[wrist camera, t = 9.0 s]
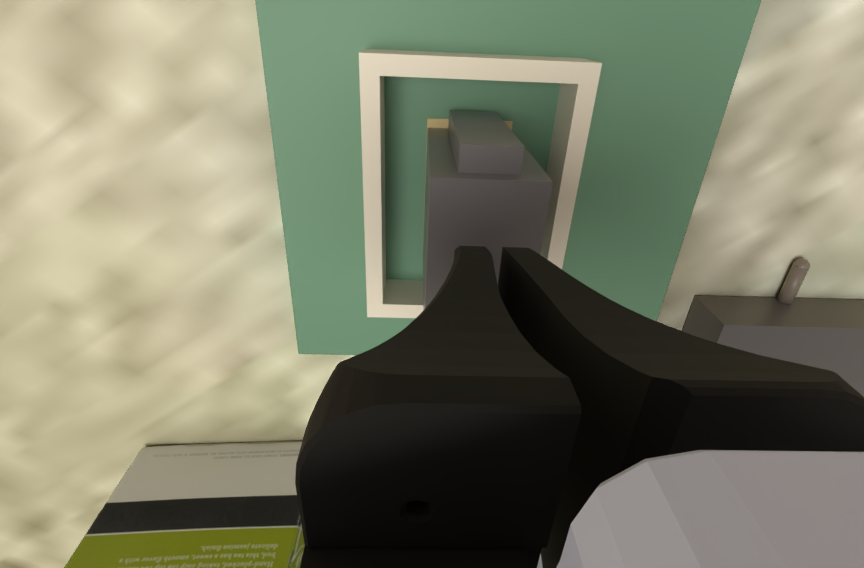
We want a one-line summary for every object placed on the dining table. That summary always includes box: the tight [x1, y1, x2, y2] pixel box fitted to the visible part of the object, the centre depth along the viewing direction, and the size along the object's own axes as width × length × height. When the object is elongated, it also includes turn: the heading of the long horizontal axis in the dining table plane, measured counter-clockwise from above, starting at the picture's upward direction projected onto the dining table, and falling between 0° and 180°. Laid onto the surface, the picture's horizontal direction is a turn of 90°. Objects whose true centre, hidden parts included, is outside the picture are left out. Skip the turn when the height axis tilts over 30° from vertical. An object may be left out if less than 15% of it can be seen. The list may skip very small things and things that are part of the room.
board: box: [255, 0, 761, 355], centre depth 18 cm, size 16×16×3 cm
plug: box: [423, 110, 553, 310], centre depth 15 cm, size 6×3×6 cm, turn 178°
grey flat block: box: [682, 259, 864, 397], centre depth 22 cm, size 10×8×3 cm
